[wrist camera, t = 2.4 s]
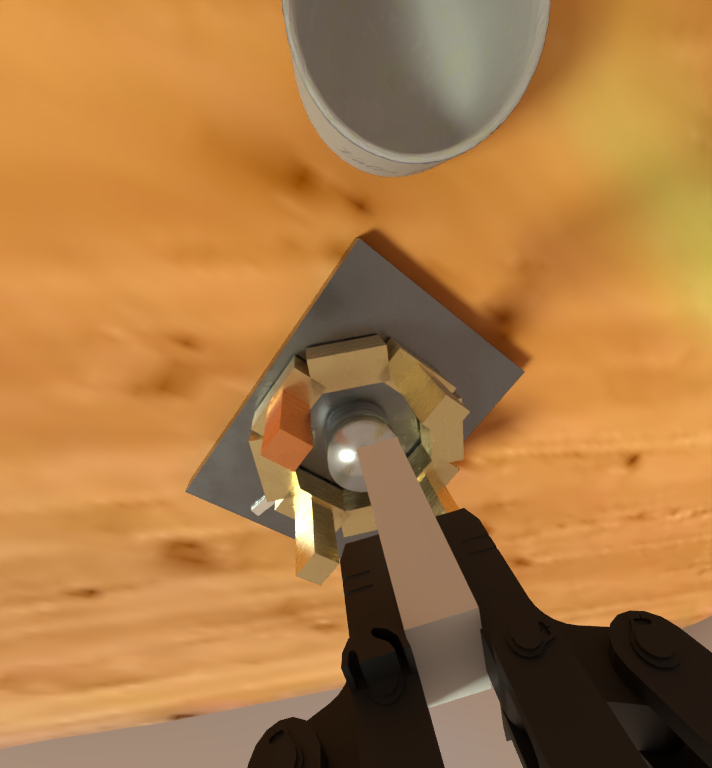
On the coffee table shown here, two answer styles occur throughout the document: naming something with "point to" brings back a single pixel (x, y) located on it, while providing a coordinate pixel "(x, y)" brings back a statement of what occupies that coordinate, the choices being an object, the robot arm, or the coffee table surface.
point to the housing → (360, 404)
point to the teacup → (411, 74)
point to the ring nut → (294, 441)
